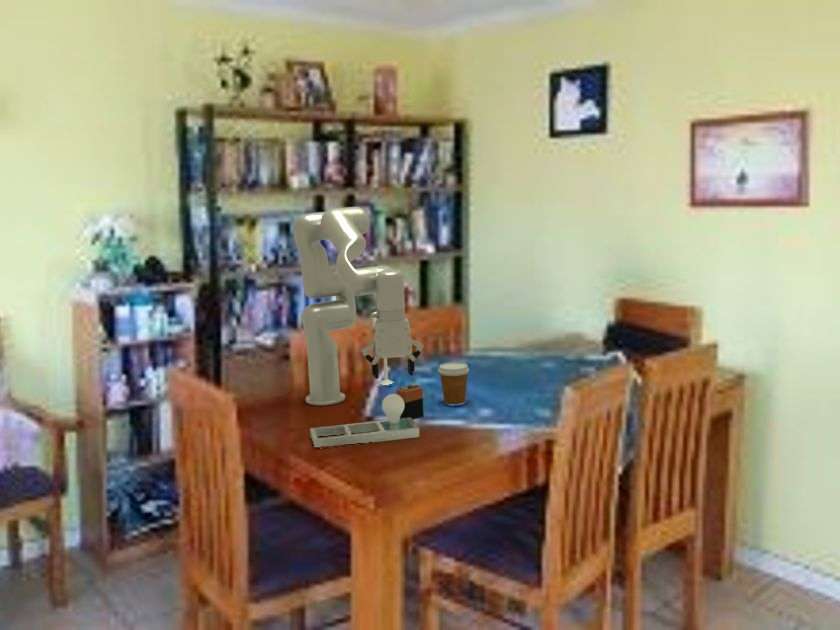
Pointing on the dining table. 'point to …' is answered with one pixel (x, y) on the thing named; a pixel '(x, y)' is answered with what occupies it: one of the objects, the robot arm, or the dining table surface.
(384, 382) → the champagne flute
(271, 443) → the dining table surface
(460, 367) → the disposable coffee cup
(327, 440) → the rail
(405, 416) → the battery
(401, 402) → the lightbulb
